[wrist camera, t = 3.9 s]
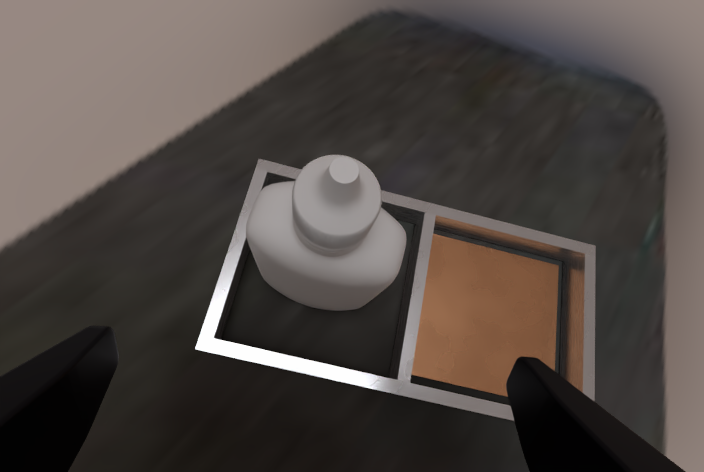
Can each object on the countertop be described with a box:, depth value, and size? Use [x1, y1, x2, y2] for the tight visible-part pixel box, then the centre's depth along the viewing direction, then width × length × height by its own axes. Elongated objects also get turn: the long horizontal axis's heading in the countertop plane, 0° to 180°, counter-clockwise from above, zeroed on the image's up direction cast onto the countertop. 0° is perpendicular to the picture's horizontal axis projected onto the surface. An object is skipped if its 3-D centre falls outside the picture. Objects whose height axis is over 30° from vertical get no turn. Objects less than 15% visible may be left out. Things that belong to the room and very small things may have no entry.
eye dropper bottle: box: [246, 155, 406, 311], centre depth 15 cm, size 4×6×12 cm
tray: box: [195, 159, 595, 421], centre depth 20 cm, size 19×10×2 cm, turn 78°
